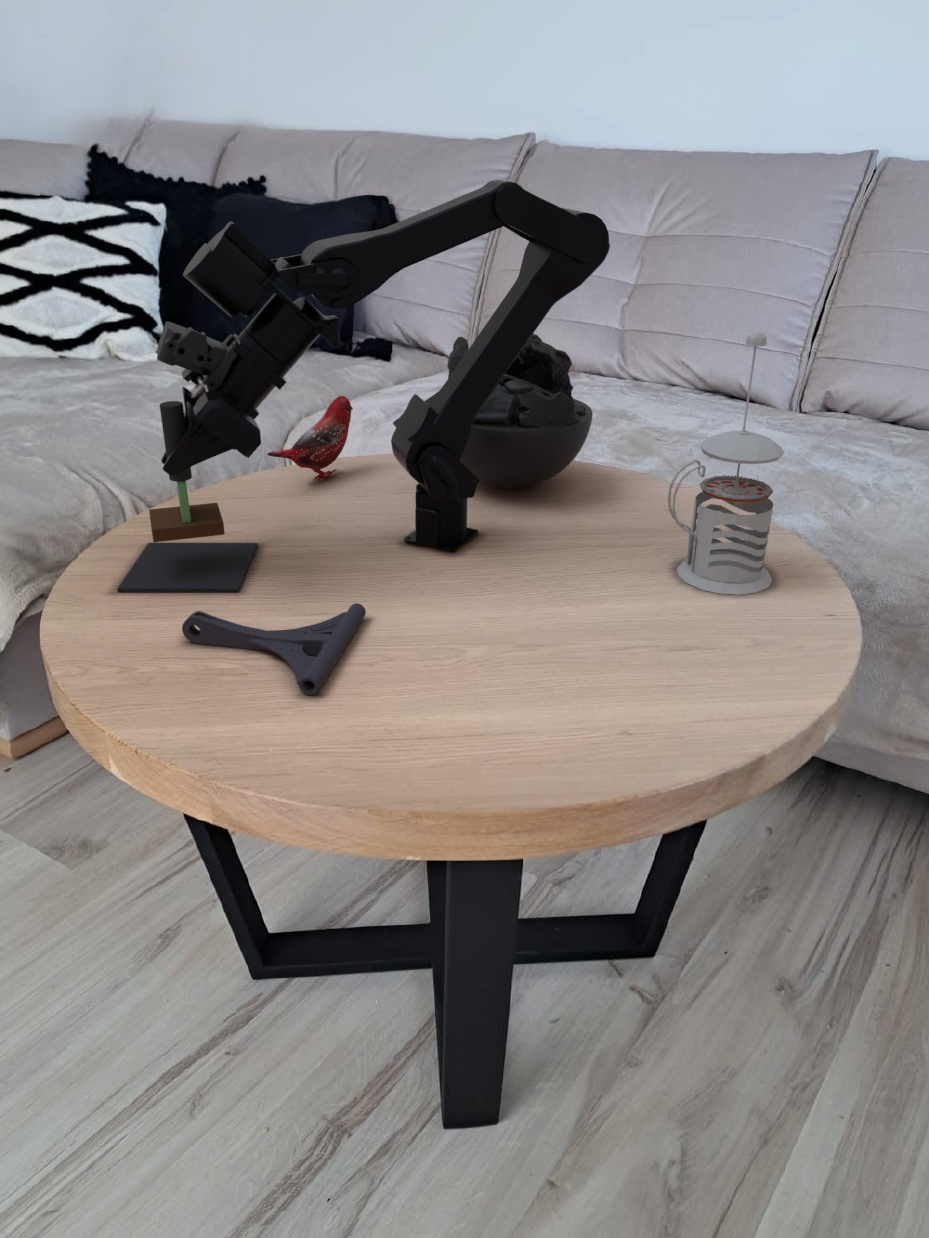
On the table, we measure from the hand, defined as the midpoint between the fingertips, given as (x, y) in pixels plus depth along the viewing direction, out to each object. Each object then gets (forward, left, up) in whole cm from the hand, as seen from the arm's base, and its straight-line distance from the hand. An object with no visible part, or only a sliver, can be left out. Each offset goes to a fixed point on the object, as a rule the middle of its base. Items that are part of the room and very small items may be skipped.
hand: (165, 468), depth 99 cm
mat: (-1, +1, -11) cm, 11 cm away
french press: (-25, +50, -11) cm, 58 cm away
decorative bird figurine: (-30, -3, -11) cm, 32 cm away
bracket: (+10, +18, -11) cm, 24 cm away
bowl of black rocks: (-41, +19, -11) cm, 47 cm away
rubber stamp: (-1, +1, -7) cm, 7 cm away
